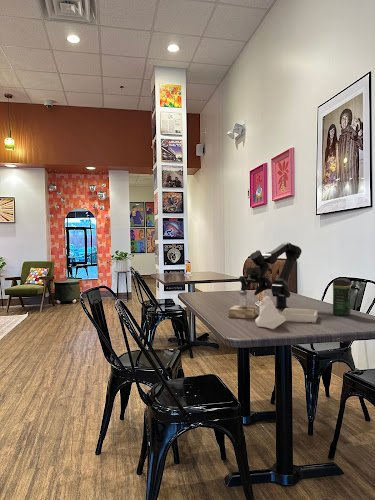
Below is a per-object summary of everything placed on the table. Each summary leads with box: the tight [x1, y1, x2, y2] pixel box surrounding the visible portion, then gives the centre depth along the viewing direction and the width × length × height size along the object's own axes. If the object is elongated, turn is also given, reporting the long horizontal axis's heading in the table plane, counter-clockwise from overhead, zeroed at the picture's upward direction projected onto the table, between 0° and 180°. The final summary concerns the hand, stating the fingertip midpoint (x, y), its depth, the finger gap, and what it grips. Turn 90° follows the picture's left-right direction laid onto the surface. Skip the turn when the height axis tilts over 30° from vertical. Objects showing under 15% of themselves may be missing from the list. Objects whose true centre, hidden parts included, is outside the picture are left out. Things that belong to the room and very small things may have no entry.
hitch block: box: [228, 305, 258, 319], centre depth 190 cm, size 12×12×4 cm
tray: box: [280, 307, 319, 324], centre depth 179 cm, size 16×16×4 cm
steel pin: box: [238, 290, 248, 309], centre depth 190 cm, size 4×4×12 cm
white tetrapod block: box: [254, 295, 287, 330], centre depth 166 cm, size 12×15×14 cm
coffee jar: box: [332, 277, 351, 316], centre depth 189 cm, size 10×8×19 cm
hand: (247, 294), depth 193 cm, fingers open, 9 cm apart
